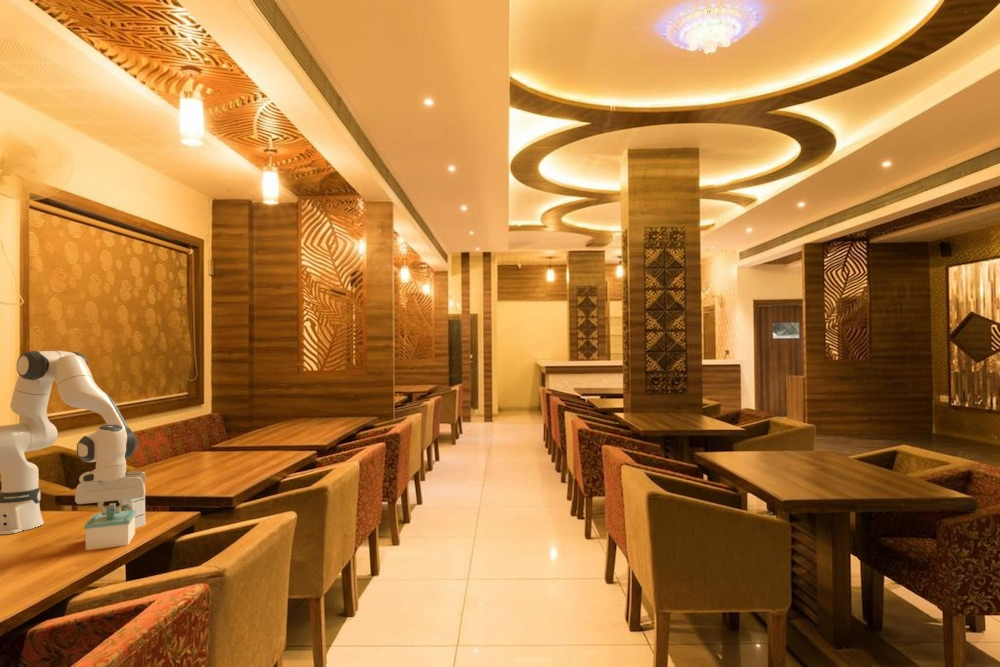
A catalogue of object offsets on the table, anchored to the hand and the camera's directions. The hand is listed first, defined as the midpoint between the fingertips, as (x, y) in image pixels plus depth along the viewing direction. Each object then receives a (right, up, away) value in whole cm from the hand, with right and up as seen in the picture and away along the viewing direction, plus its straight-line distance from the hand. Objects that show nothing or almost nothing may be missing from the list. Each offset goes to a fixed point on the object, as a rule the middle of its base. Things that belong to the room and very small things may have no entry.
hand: (111, 513), depth 208 cm
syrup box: (-3, -11, +18) cm, 21 cm away
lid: (0, -3, 0) cm, 3 cm away
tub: (0, -10, 0) cm, 10 cm away
